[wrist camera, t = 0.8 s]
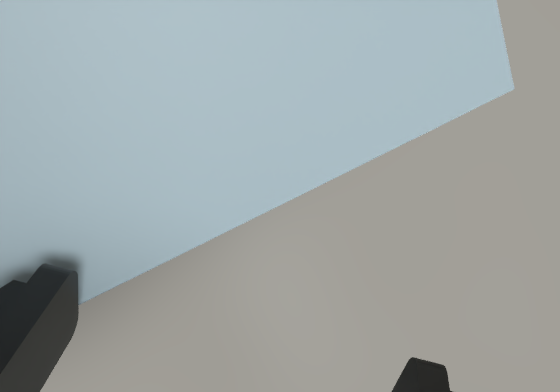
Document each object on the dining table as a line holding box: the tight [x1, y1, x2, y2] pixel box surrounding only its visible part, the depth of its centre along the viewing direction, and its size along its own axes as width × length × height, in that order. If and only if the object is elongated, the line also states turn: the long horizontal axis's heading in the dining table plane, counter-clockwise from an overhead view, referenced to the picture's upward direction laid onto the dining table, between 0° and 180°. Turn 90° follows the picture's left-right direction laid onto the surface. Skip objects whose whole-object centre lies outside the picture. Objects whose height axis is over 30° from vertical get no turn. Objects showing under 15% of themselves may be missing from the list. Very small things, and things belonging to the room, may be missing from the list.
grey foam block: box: [0, 0, 514, 305], centre depth 21 cm, size 16×10×21 cm, turn 113°
